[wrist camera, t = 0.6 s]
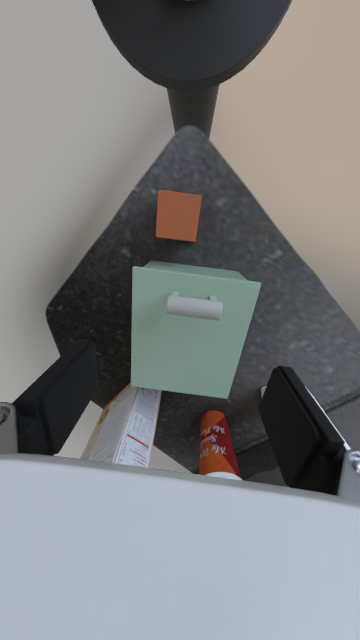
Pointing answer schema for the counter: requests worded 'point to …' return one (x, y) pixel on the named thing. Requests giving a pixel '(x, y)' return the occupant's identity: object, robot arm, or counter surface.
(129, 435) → the cracker box
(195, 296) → the lid
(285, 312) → the counter surface
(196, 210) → the block
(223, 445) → the paper cup
